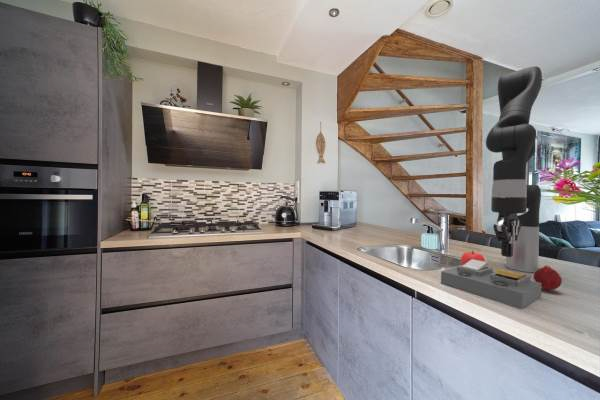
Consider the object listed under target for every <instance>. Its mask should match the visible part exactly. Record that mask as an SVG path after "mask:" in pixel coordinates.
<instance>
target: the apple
mask: <svg viewBox="0 0 600 400" xmlns="http://www.w3.org/2000/svg"><path fill="white" fill-rule="evenodd" d="M471 259H474V260H478V261H483V262H486V261H485V258H484V256H483V254H481V253H477V252H474V250H472V251H471V252H468V251H467V252H463V254H462V255H461V257H460V264H461V265H464V264H466V263H467V262H469V261H470V260H471ZM461 265H460V266H461Z"/></svg>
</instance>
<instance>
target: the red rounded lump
mask: <svg viewBox="0 0 600 400" xmlns="http://www.w3.org/2000/svg"><path fill="white" fill-rule="evenodd" d="M533 273H534V274H533V281H535V282H540V283H541V289H543V290H544V291H546V292H549V291H552V290H556V289H558V288H560V287H561V285H562V283H563V281H562V280H563V279H562V276H561V275H560V274H559V273H558V272H557V270H555V269H554V268H552V267H551V266H550V265H549V264H547V263H546V264H544V266H543V267H541V268H538V270H537V271H536V272H533Z"/></svg>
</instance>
